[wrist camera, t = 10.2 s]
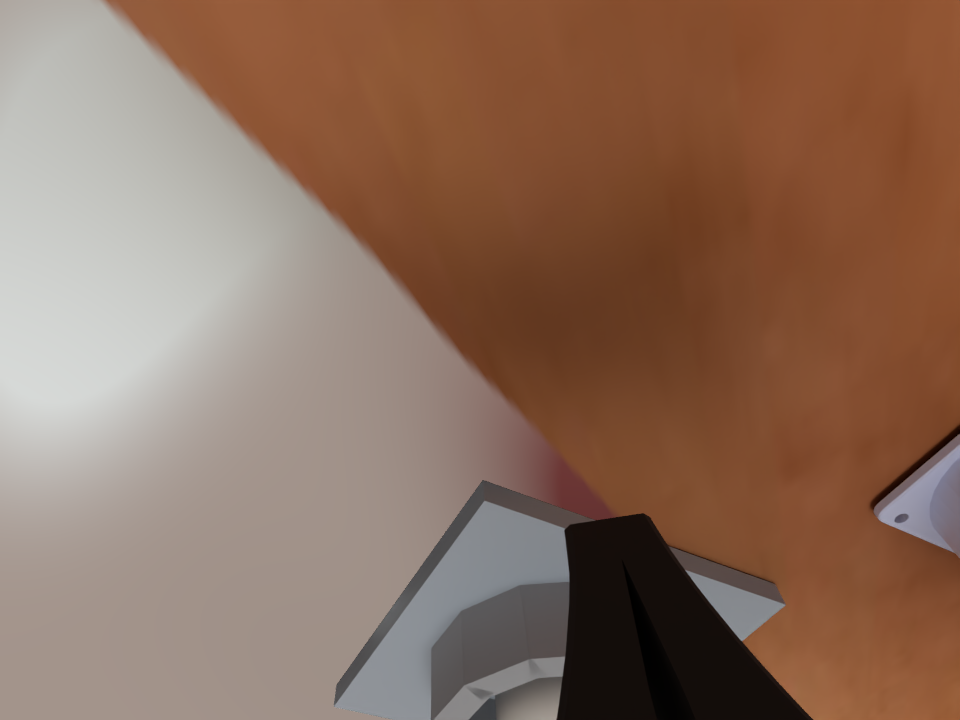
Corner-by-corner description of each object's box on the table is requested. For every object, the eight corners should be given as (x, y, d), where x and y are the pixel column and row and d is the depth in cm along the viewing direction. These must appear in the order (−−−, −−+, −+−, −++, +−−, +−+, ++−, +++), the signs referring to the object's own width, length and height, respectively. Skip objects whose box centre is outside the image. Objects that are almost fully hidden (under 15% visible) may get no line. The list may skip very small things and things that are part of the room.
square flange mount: (774, 583, 27) (823, 675, 23) (590, 742, 33) (607, 832, 30) (482, 479, 22) (490, 573, 19) (336, 684, 29) (323, 781, 25)
